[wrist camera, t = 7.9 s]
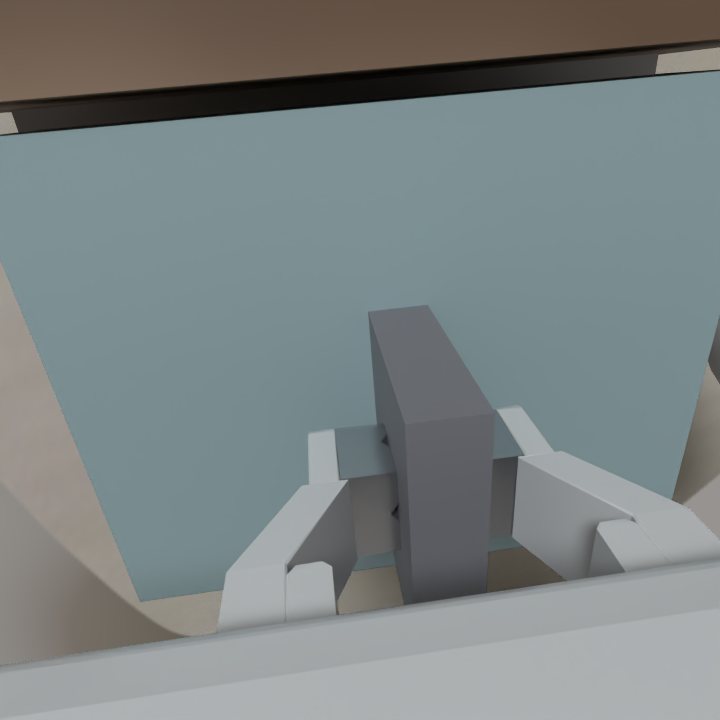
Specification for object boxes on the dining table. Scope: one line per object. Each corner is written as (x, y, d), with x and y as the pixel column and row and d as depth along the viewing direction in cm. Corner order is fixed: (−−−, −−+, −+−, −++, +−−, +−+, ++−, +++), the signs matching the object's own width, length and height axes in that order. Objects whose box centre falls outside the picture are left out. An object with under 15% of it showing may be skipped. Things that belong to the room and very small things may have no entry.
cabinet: (514, 350, 24) (789, 672, 10) (207, 387, 23) (81, 787, 10) (532, 70, 19) (1124, -3, 5) (137, 105, 18) (-345, 123, 4)
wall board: (516, 134, 28) (902, 200, 10) (137, 171, 27) (-182, 318, 9) (523, 0, 25) (1072, -237, 7) (101, 34, 24) (-467, -151, 6)
